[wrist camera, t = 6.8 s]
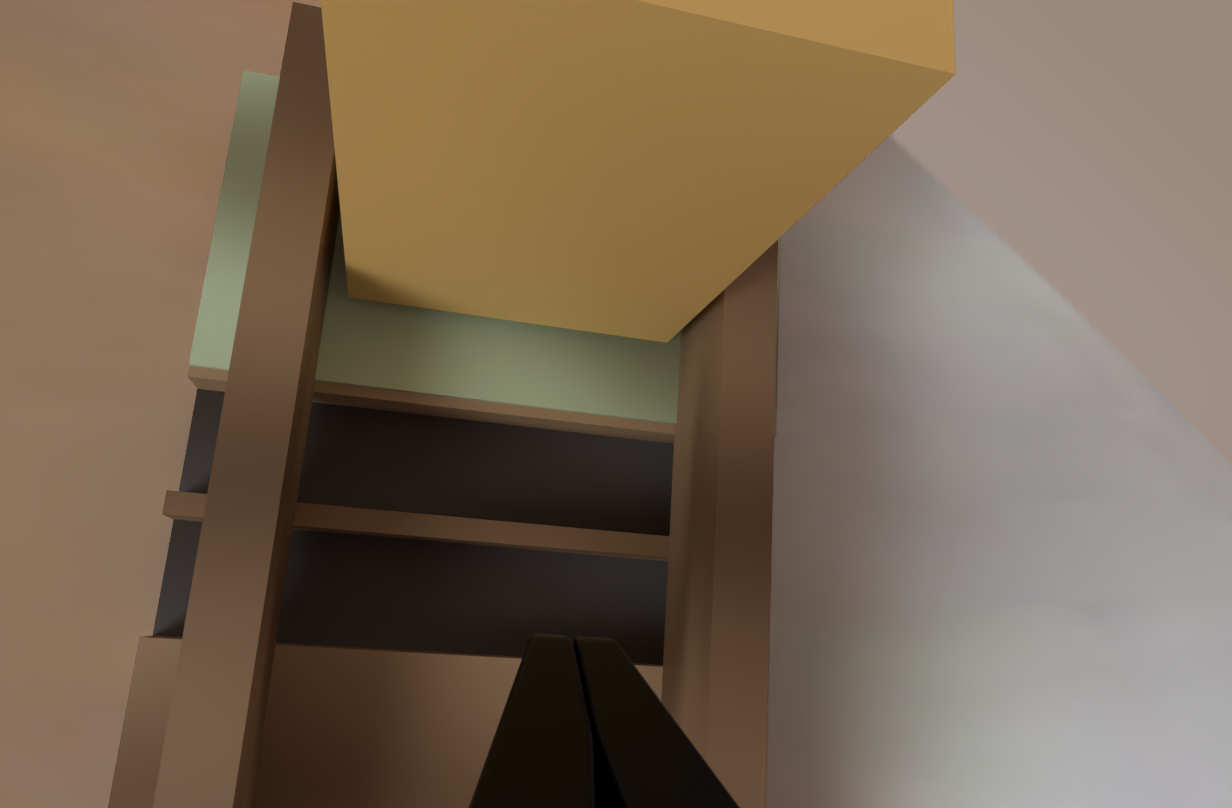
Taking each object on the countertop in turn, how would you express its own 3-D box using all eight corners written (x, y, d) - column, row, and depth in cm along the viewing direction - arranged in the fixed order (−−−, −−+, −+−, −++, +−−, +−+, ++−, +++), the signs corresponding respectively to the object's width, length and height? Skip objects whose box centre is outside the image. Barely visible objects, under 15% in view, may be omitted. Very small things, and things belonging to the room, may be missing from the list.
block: (666, 342, 18) (955, 73, 9) (348, 297, 16) (313, -75, 7) (674, 201, 18) (947, -177, 10) (370, 147, 17) (361, -354, 8)
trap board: (733, 1039, 17) (827, 1152, 13) (78, 1066, 14) (-19, 1215, 11) (757, 199, 21) (834, 116, 17) (252, 106, 18) (222, -13, 15)
